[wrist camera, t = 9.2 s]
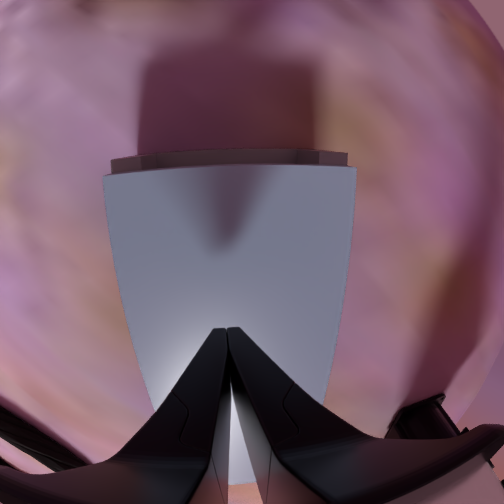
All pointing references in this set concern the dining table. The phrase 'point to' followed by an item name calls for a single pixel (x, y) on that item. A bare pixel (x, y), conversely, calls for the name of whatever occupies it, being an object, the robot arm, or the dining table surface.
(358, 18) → the dining table surface
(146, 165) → the grey tray with bar
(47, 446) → the cable lock
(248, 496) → the dining table surface
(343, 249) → the cover
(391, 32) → the dining table surface
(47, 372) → the dining table surface
